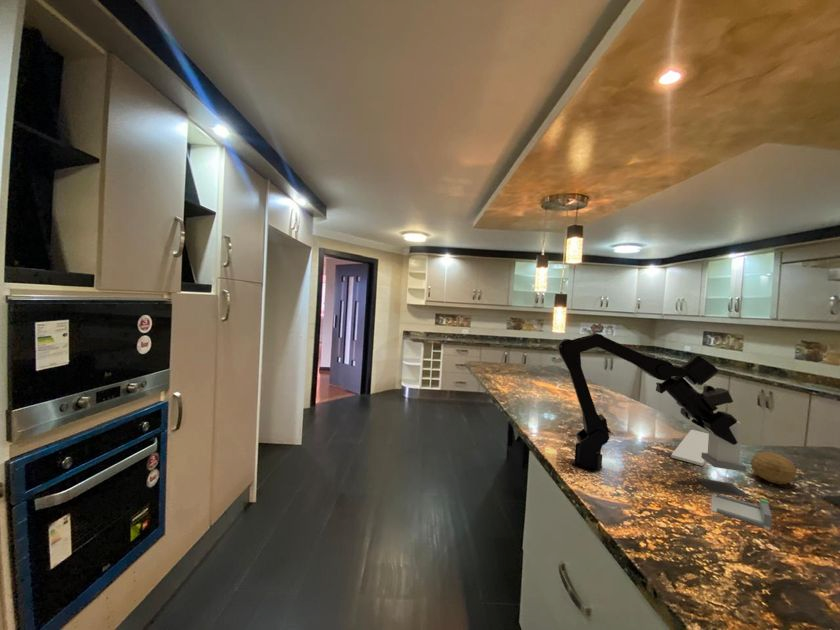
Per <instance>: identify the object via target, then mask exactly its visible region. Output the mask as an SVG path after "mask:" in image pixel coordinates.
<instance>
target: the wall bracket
mask: <svg viewBox="0 0 840 630" xmlns="http://www.w3.org/2000/svg"><path fill="white" fill-rule="evenodd" d="M708 439H709V432H703V431H699V430H693V429H690V431H688V432H687V434H686V436H684V437H683V440H682V441H680V443H679V445H677V447H676V448H675V450H674V451H673V452H672V453H671V459H673V458H674V459H676V460H680V461H684V462H687V463H691V464H694V465H697V466H701V467H703V466H705V465H706V464H707V463H708V462H707V461H705V460H704V459H703V458H701V456H702V453H708ZM706 462H707V463H706Z"/></svg>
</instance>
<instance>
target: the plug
mask: <svg viewBox="0 0 840 630" xmlns="http://www.w3.org/2000/svg"><path fill="white" fill-rule="evenodd" d="M729 428H730V430H731V432H732V433H733V435H734V437H735V439H736V441H737V444H735V445H733V444H731V443H729V442H727V441H726V440H724V439H722V438H720V437H718V436H716V435H714V434H712V433H710V432H709V431H708V434H709V439H708V453H702V456H701V458H703V459H704V460H705V461H707V463H708V464H709V465H711V466H712V467H713V468H718V469H723V470H731V471H738V472H744V473H745V472H746V471H747V466H746V465H745V464H743V463H742V462H740V460H741V459H740V457H741V442H742V440H741V439H742V438H741V437H742V422H740V421H738V420H737V423H735V424H734V425H732V426H731V427H729Z"/></svg>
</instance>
